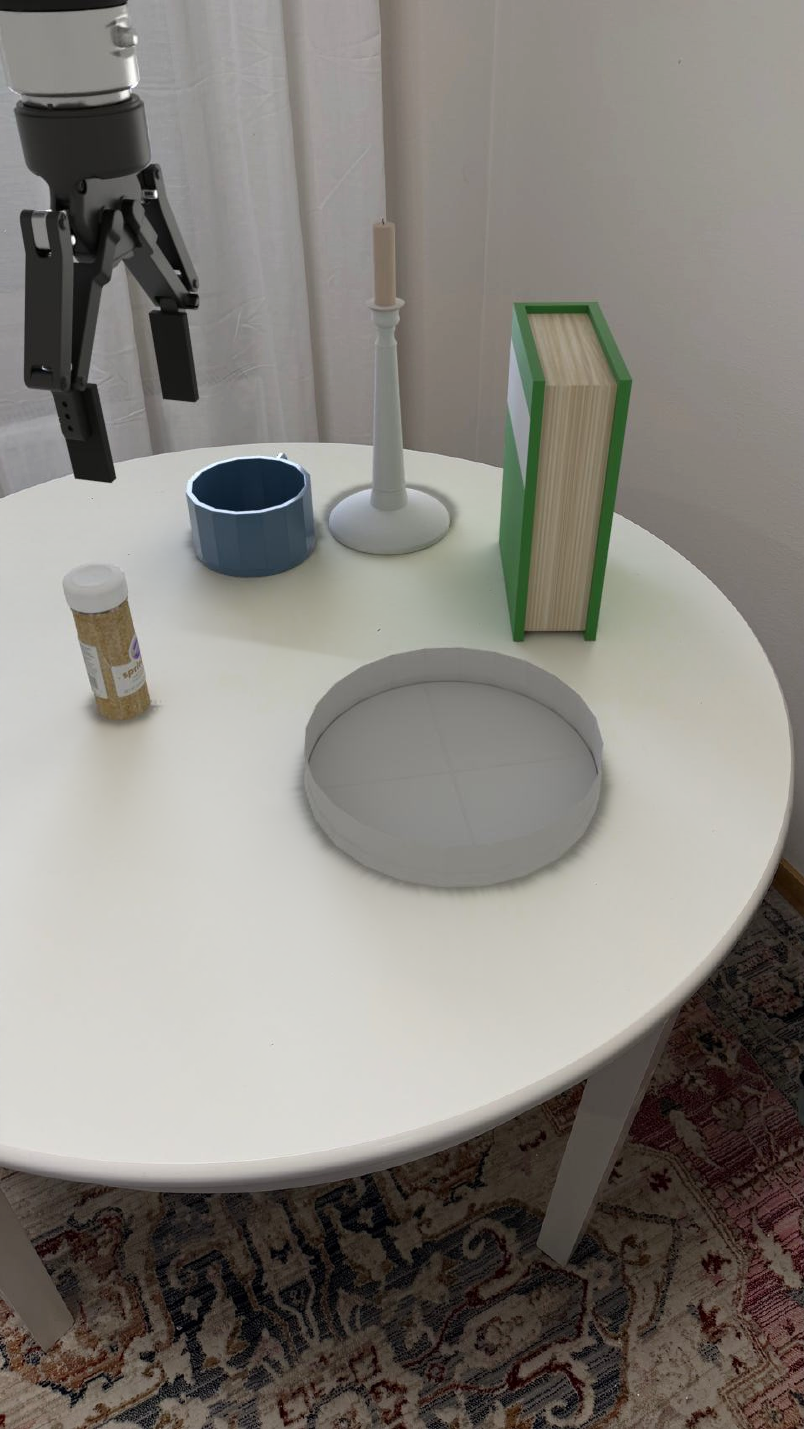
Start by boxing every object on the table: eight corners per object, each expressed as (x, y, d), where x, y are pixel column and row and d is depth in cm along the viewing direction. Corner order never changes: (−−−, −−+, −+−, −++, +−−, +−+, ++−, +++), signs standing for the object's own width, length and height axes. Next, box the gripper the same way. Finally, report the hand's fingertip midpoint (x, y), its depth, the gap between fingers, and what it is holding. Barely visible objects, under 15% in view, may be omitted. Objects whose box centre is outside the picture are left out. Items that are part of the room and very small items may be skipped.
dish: (551, 679, 86) (556, 632, 83) (641, 874, 70) (652, 824, 66) (292, 710, 83) (287, 662, 80) (322, 920, 67) (317, 870, 64)
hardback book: (595, 640, 91) (632, 380, 75) (513, 641, 91) (533, 381, 75) (570, 540, 104) (597, 301, 89) (498, 541, 104) (513, 302, 89)
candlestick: (412, 566, 100) (411, 247, 81) (305, 535, 105) (280, 227, 86) (470, 511, 109) (481, 210, 89) (369, 484, 114) (359, 194, 94)
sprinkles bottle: (154, 727, 82) (123, 588, 73) (97, 735, 81) (59, 595, 73) (153, 692, 85) (124, 556, 77) (98, 700, 85) (62, 562, 76)
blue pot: (290, 585, 98) (284, 521, 94) (176, 567, 101) (164, 504, 96) (340, 510, 109) (337, 450, 105) (236, 496, 112) (229, 437, 107)
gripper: (19, 140, 49) (105, 526, 63) (220, 64, 67) (253, 375, 81) (-114, 134, 50) (-1, 512, 64) (118, 61, 69) (168, 367, 83)
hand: (141, 436), depth 73 cm, fingers open, 13 cm apart
